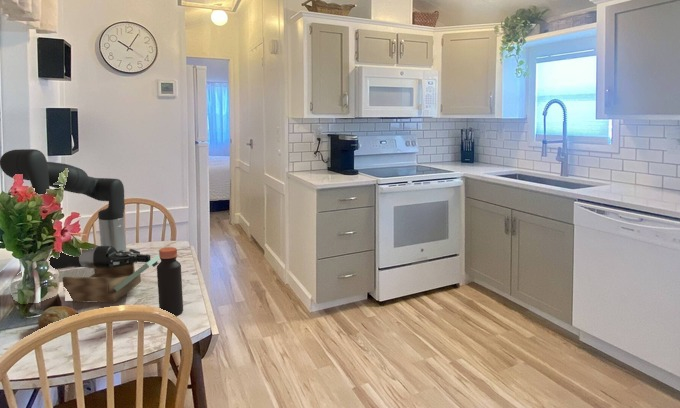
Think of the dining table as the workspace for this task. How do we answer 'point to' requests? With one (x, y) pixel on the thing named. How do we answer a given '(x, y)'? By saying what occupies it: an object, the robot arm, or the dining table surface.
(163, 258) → the bottle
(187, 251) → the dining table surface
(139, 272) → the green box lid
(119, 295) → the wood grain box
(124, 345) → the dining table surface
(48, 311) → the bread roll
